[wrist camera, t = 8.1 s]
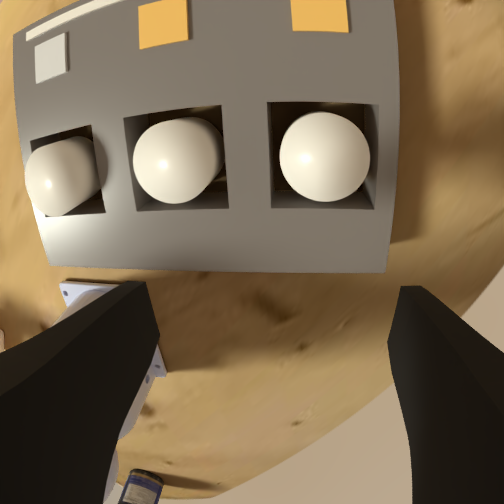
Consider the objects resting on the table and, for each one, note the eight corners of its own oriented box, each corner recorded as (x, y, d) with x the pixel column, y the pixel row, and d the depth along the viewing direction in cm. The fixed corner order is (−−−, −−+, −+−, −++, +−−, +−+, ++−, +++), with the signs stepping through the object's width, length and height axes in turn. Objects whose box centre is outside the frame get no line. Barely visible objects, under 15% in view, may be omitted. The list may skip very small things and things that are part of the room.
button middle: (228, 185, 17) (216, 202, 15) (161, 188, 18) (139, 205, 15) (222, 113, 16) (208, 116, 13) (153, 121, 16) (128, 126, 13)
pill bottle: (154, 484, 44) (138, 533, 34) (125, 469, 42) (106, 519, 32) (171, 481, 41) (154, 535, 31) (139, 466, 40) (119, 521, 30)
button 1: (355, 185, 16) (367, 202, 14) (282, 184, 17) (280, 201, 14) (357, 112, 15) (370, 115, 12) (280, 110, 15) (277, 112, 13)
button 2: (110, 196, 17) (82, 215, 15) (62, 201, 18) (33, 218, 15) (99, 130, 16) (68, 140, 13) (51, 142, 16) (19, 152, 13)
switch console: (373, 247, 19) (386, 274, 16) (72, 246, 21) (48, 267, 18) (373, -18, 11) (388, -38, 8) (42, 36, 14) (11, 34, 11)
